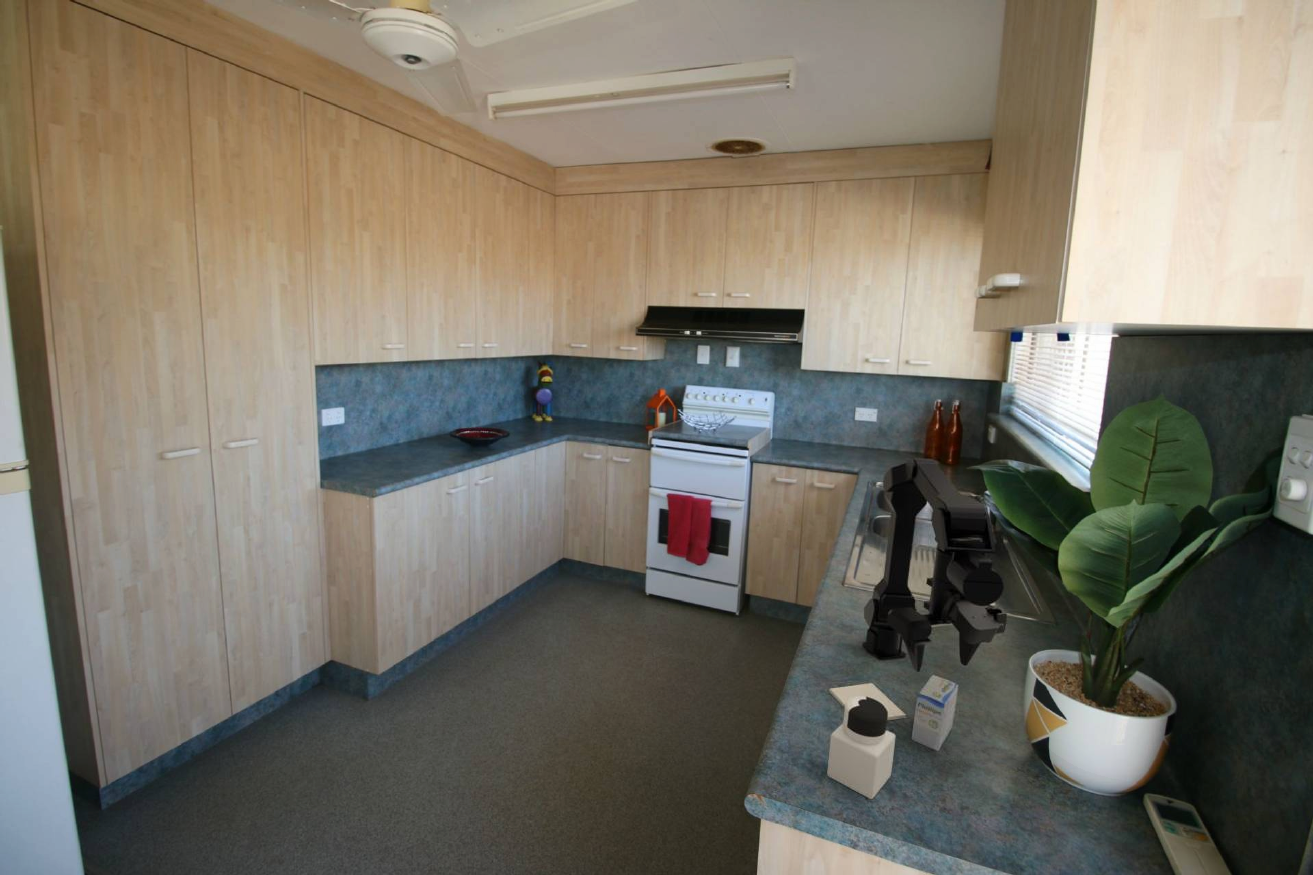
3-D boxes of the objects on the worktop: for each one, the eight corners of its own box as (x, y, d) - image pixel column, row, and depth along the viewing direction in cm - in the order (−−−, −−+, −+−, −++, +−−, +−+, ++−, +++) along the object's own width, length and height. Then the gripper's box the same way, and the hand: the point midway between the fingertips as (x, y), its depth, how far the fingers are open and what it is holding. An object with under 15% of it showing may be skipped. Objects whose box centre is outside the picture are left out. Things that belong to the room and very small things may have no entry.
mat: (871, 686, 120) (871, 683, 120) (905, 717, 110) (905, 714, 110) (829, 691, 117) (829, 688, 117) (860, 724, 108) (860, 721, 108)
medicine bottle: (891, 776, 96) (900, 704, 94) (871, 801, 90) (880, 725, 88) (847, 753, 100) (854, 684, 98) (826, 776, 95) (833, 704, 93)
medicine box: (925, 718, 110) (931, 673, 109) (952, 729, 108) (959, 683, 106) (910, 740, 104) (916, 692, 103) (939, 752, 102) (945, 703, 100)
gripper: (937, 605, 91) (925, 703, 94) (1041, 595, 96) (1026, 688, 99) (890, 574, 101) (879, 663, 104) (985, 567, 106) (973, 652, 109)
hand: (940, 667), depth 104 cm, fingers open, 9 cm apart
